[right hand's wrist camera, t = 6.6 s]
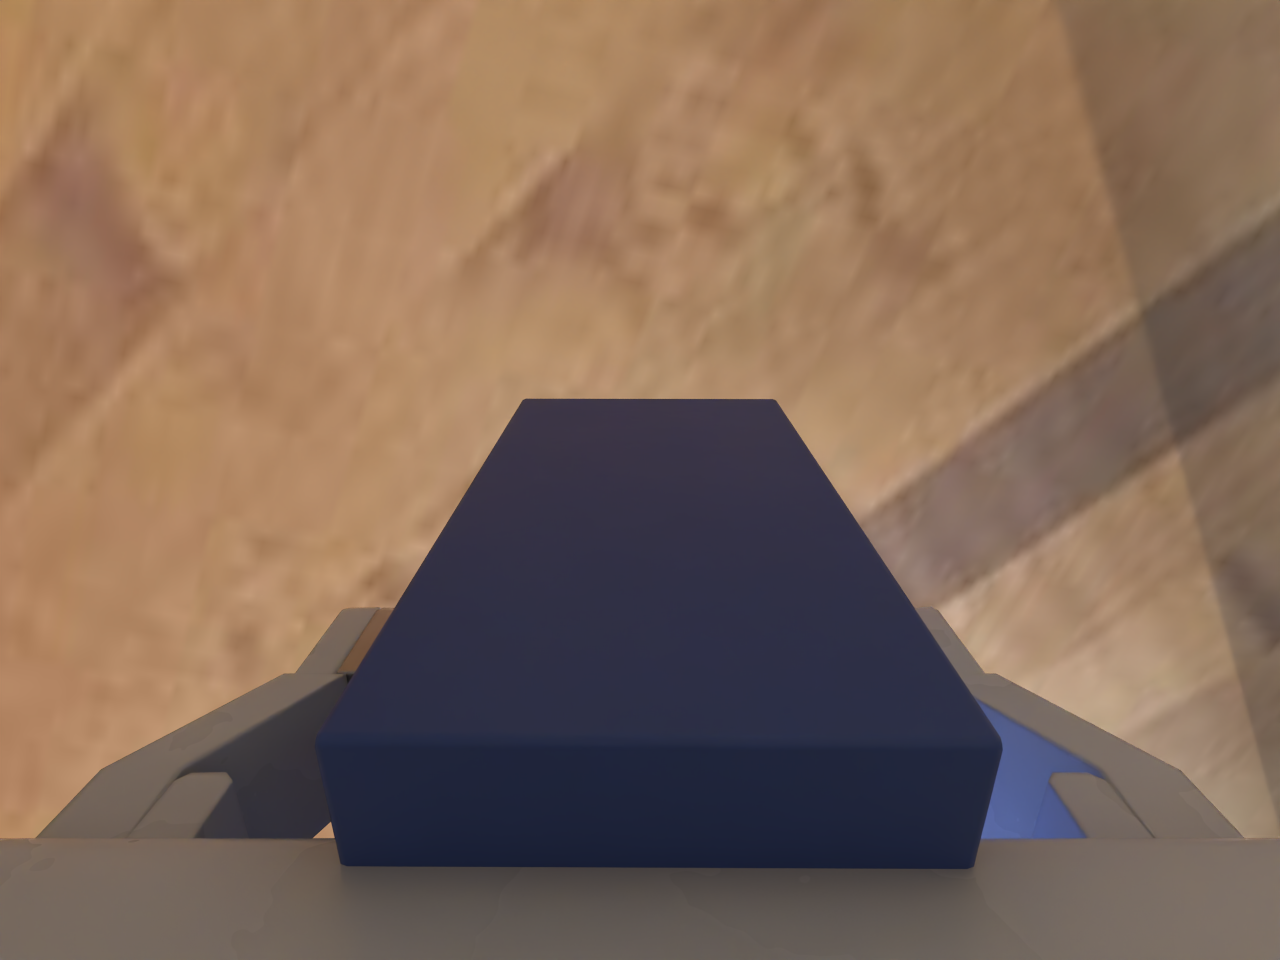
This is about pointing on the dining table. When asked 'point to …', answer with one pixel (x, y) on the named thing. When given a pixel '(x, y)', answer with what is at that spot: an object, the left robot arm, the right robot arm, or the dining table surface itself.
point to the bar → (656, 667)
